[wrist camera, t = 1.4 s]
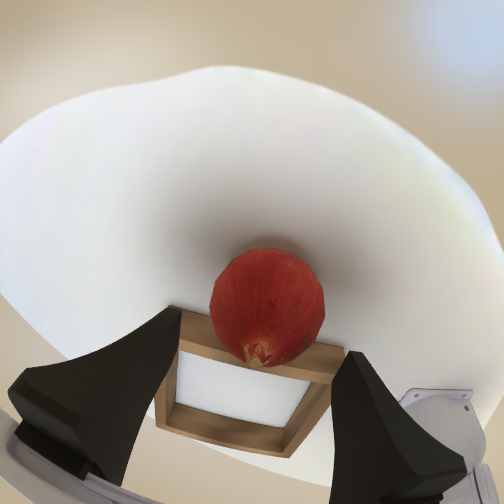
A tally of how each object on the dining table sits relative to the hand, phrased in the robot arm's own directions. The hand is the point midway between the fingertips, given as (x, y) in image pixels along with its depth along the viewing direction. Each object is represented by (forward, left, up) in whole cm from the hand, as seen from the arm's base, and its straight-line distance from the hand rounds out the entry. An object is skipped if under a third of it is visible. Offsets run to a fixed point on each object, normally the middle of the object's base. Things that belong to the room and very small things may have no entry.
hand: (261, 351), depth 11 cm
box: (0, +11, -7) cm, 13 cm away
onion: (0, 0, -7) cm, 7 cm away
